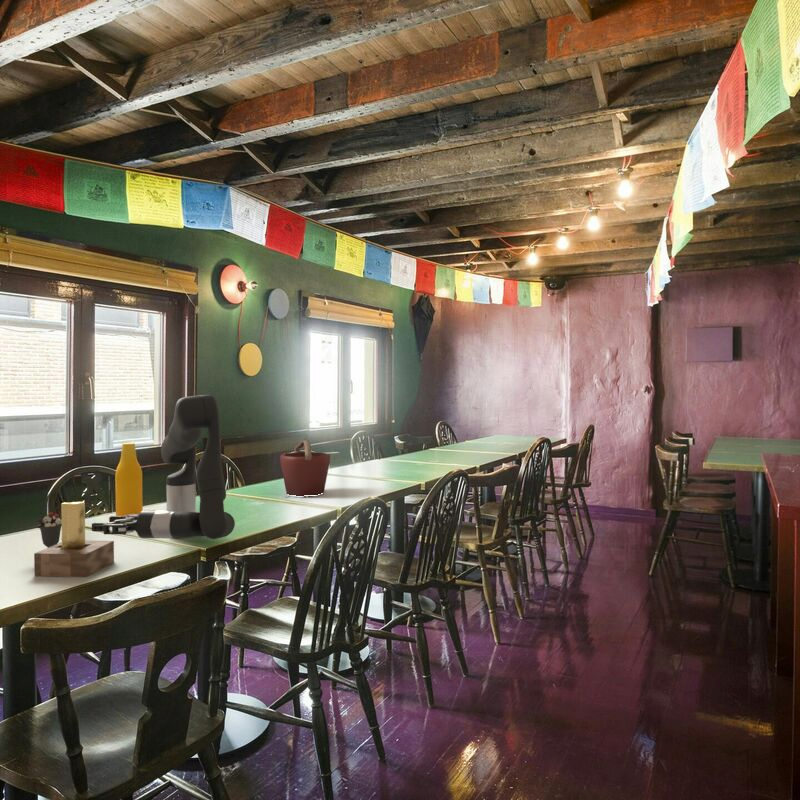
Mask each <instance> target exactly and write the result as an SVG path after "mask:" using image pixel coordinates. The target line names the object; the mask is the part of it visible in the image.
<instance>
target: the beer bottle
mask: <svg viewBox="0 0 800 800" xmlns="http://www.w3.org/2000/svg"><path fill="white" fill-rule="evenodd" d="M114 475H115V477H114V478H115V484H114V485H115V516H123V517H124V515H129V514H140V512H142V511H143V510H144V509H143V507H144V506H143V470H142V468H141V465H140V463H139V462H138V459H137V451H136V444H135V443H134V442H126V443H122V445H121V454H120V460H119V463H118V465H117V466H116V471H115V474H114Z"/></svg>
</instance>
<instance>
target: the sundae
mask: <svg viewBox="0 0 800 800" xmlns="http://www.w3.org/2000/svg"><path fill="white" fill-rule="evenodd" d="M58 509H59V506H55V508H54V510H53V511H51V512H49V514H48V515H46V516H44V518H43V519H42V521H41V519H40V518H39V519H38V523H39V524H38V525H36V526H37V529H39V530H40V536H41V540H42V544H43V545H44V546H45V547H47V548H48V547H51V546H53V545H56V544H58V543H60V536H61V532H62V519H60V517H59V514H58V513H57V511H58ZM54 512H55V514H54Z"/></svg>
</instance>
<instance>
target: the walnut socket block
mask: <svg viewBox="0 0 800 800" xmlns="http://www.w3.org/2000/svg"><path fill="white" fill-rule="evenodd" d="M33 558H34V559H33V561H34V565H33V566H34V569H33V570H34V577H63V576H64V577H66V576H68V578H69V577H70V578H71V577H72V578H74V577H76V578H86V576H87V577H88V576H90V575H92V574H94V573H95V572H97V570H98V571H100V570H101V569H103V568H105V567H107V566H108V565H110V563H111V564H112V562H113V563H114V562H115V541H114V540H93V539H92V540H89V539H88V540H86V539H85V548H82V549H80V550H63V548H62V541H61V542H58V543H57V544H56V545H53V546H51V547H47V548H43V549H42V550H39V551H36V552H34V555H33ZM99 569H100V570H99ZM66 578H67V577H66Z"/></svg>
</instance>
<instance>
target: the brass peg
mask: <svg viewBox="0 0 800 800" xmlns="http://www.w3.org/2000/svg"><path fill="white" fill-rule="evenodd" d="M60 506H61V509H60V510H61V513H60V514H61V521H62V526H61V542H62V548H63V550H80V549H82V548H85V540H86V507H85V506H86V504H85V502H84V501H72V502H62V503H61V504H60Z"/></svg>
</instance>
